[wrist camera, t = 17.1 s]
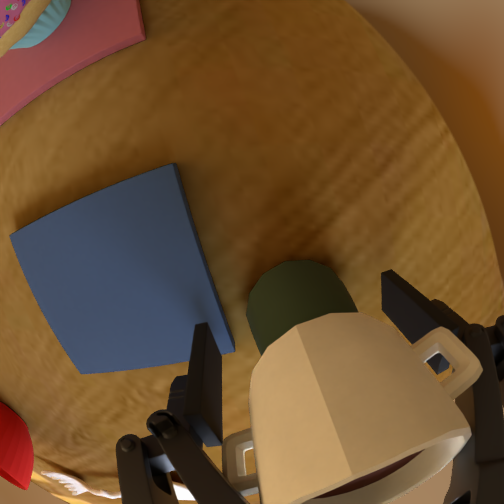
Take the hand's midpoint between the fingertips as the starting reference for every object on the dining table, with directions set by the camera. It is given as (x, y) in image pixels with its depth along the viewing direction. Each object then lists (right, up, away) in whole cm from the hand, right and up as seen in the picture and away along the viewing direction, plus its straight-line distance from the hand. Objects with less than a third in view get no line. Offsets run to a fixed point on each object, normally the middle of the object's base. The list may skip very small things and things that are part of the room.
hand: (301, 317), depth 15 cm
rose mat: (-17, +20, -6) cm, 26 cm away
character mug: (0, +1, +2) cm, 2 cm away
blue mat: (-12, +1, 0) cm, 12 cm away
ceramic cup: (-39, -18, +5) cm, 43 cm away
